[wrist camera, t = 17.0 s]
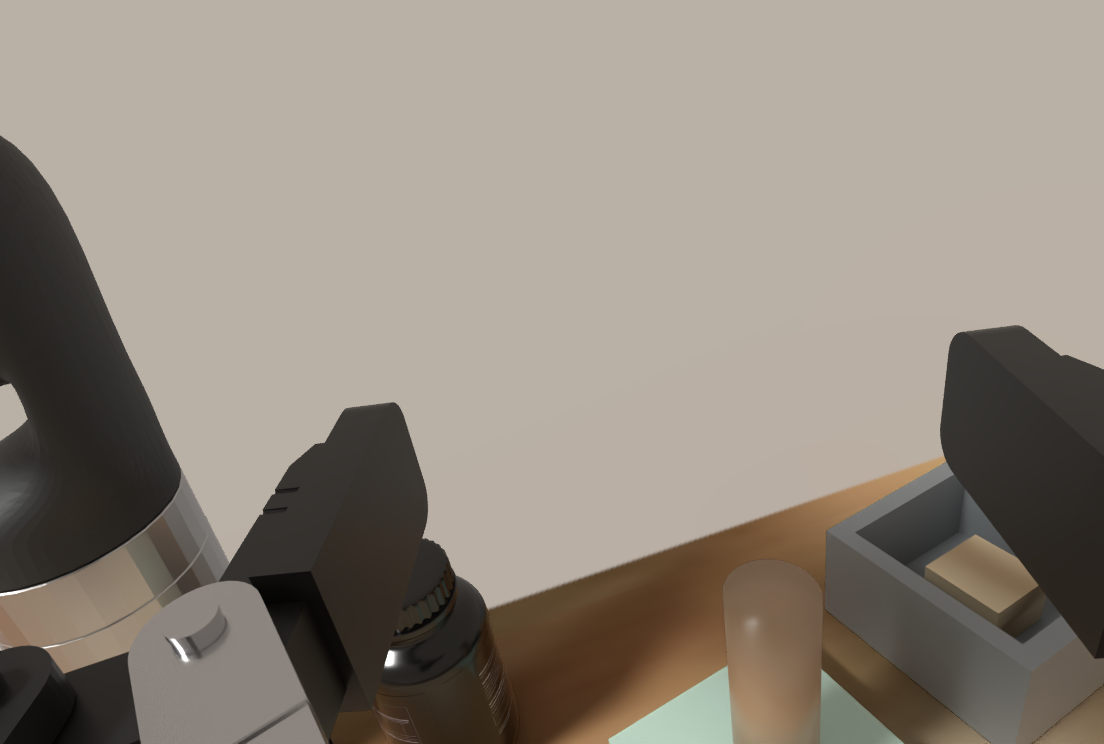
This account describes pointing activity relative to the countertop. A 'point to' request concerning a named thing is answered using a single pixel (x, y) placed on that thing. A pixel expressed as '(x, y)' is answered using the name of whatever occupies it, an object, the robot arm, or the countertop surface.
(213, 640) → the robot arm
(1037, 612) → the block
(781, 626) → the peg on green base
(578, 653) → the countertop surface
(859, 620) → the storage box
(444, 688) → the supplement bottle
